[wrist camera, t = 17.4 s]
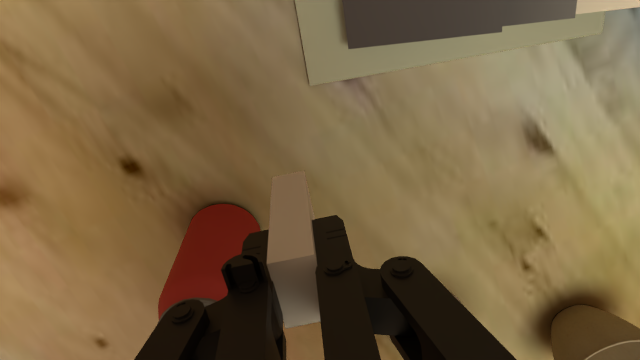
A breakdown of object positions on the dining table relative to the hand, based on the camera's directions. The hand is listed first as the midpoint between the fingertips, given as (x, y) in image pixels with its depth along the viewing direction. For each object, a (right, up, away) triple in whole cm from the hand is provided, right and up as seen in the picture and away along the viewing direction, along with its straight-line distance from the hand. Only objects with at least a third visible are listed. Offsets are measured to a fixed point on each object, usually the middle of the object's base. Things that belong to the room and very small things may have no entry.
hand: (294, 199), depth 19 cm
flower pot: (+30, -15, +27) cm, 43 cm away
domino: (+3, +13, +9) cm, 16 cm away
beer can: (-8, -4, +19) cm, 20 cm away
